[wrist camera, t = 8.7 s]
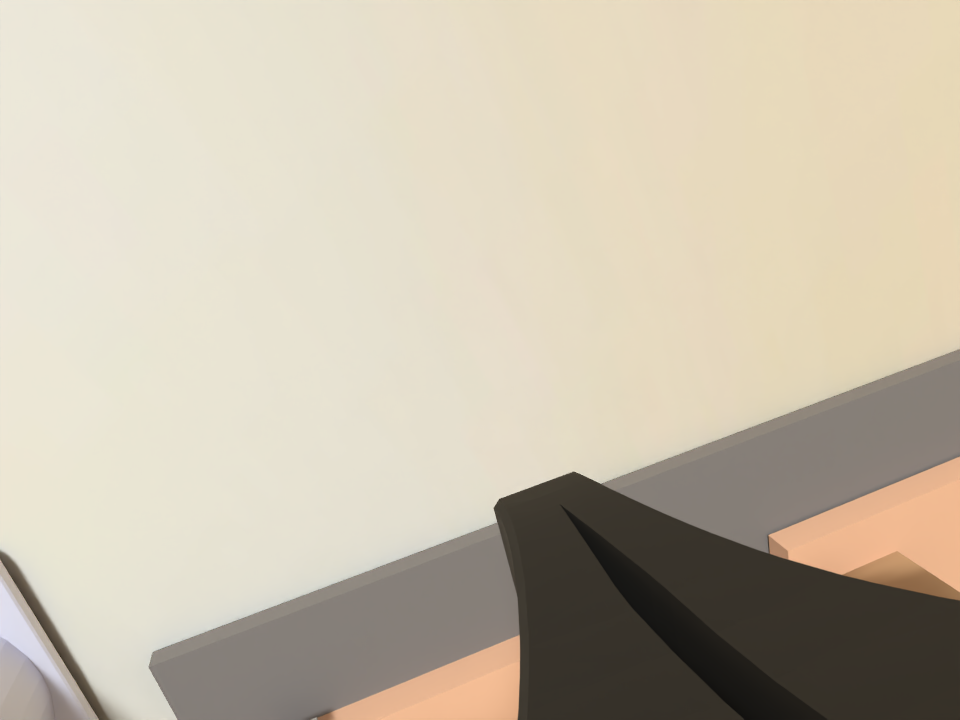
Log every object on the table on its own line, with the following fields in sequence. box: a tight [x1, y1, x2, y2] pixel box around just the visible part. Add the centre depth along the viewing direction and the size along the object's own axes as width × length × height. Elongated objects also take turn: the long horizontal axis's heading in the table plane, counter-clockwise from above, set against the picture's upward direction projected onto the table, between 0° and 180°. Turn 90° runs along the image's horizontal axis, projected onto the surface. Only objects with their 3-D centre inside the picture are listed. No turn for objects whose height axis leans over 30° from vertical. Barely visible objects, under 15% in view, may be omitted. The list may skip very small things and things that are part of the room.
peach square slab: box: [768, 457, 960, 600], centre depth 24 cm, size 10×10×4 cm
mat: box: [149, 350, 960, 720], centre depth 24 cm, size 30×18×1 cm, turn 104°
